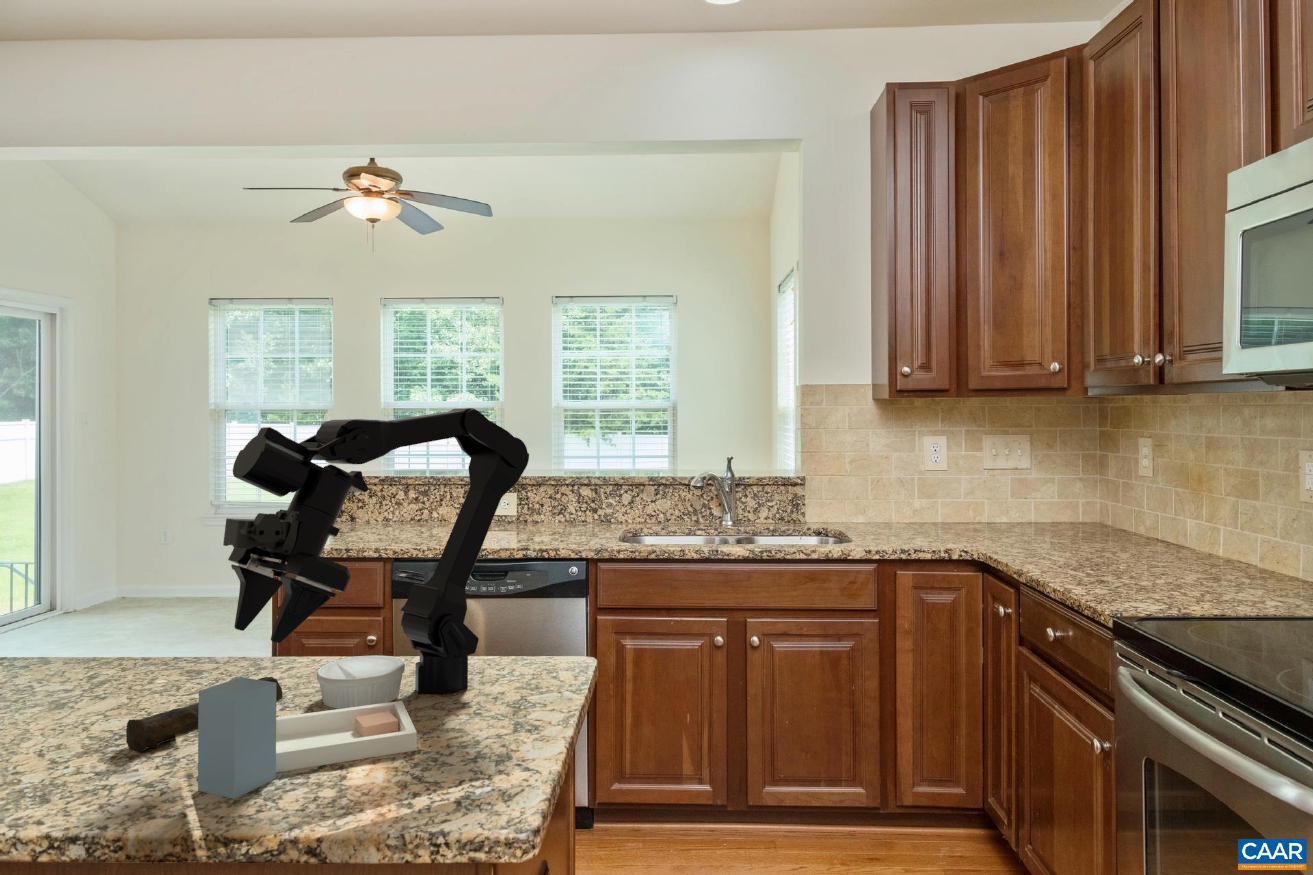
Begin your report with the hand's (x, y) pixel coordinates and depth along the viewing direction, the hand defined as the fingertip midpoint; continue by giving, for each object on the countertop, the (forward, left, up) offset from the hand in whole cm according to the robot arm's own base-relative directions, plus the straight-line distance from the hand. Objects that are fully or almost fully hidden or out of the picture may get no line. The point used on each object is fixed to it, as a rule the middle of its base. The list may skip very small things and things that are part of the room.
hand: (256, 635), depth 92 cm
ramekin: (-13, -12, -14) cm, 22 cm away
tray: (-9, +4, -13) cm, 16 cm away
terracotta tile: (-13, +2, -12) cm, 18 cm away
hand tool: (+5, -11, -14) cm, 19 cm away
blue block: (+1, +12, -13) cm, 18 cm away
